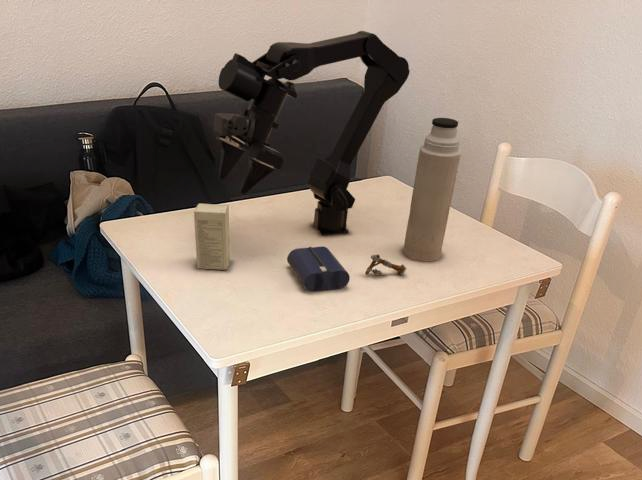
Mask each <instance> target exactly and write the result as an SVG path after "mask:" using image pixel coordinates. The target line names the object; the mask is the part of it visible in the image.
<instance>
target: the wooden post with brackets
mask: <svg viewBox="0 0 642 480" xmlns="http://www.w3.org/2000/svg"><path fill="white" fill-rule="evenodd" d="M370 259H371V260H372V261H371V262H370V263H369V266H368V267H367V268H366V270H365V271H364V273H365V275H369V274H370V273H371V272H372V273H373V275H374V276H378V277H380V276H383V272H382V271H381V270H380V269H379V270H378V269H377V268H375V269H373V268H374V267H376V266H378V265H382V266H384V267H387V268H389V269H393V270H394V271H396V272H397V273H398V274H399V276H403V275H404V273H405V272H406V270H407V268H408V267H406V266H405V264H401V265H400V264H395V263H392V262H391V261H388V260H386V259H383V258H381V255H380V254H378V253H377V254H376V255H375V254H372V255H370Z"/></svg>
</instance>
